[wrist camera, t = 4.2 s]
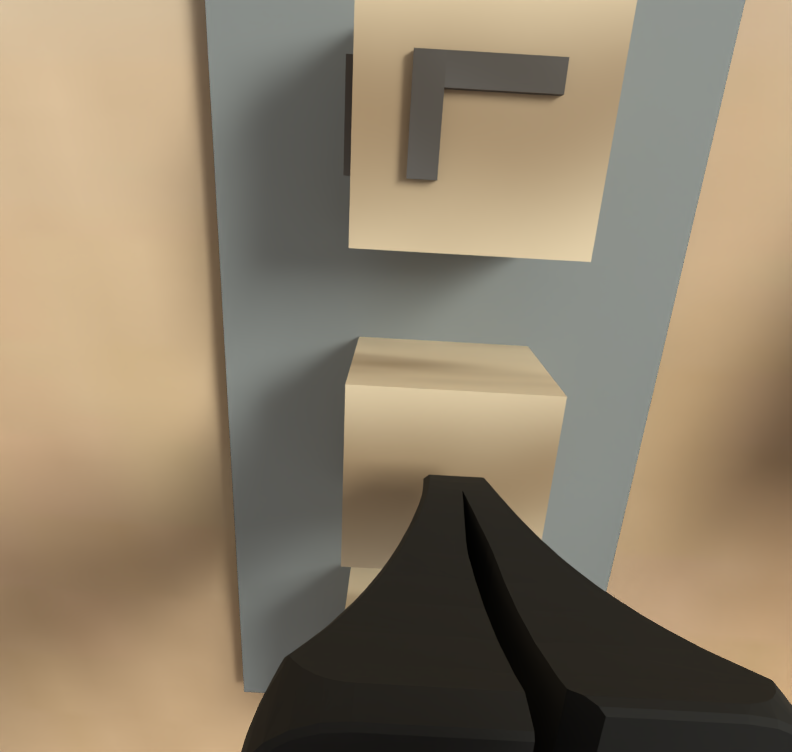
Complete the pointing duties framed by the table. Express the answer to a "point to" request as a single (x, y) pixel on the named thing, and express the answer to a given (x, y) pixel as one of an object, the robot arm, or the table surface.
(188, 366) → the table surface
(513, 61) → the block seven
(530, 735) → the robot arm
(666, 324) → the slate mat
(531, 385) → the plain block
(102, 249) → the table surface
